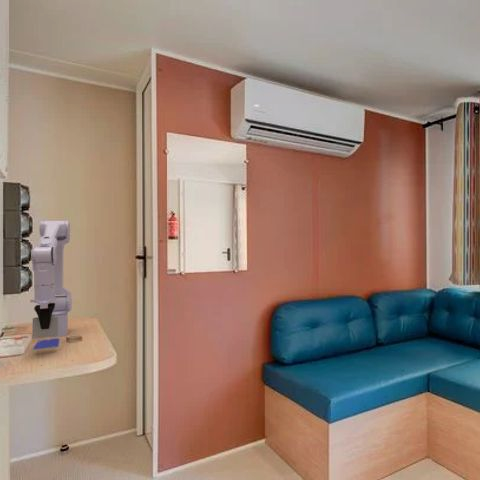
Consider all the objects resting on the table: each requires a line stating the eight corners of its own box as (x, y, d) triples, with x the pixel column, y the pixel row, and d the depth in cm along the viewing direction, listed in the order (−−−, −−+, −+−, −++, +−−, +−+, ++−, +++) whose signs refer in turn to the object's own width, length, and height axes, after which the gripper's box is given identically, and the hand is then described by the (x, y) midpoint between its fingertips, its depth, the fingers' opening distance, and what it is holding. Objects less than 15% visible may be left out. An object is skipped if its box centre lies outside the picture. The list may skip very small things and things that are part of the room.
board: (33, 336, 114) (33, 317, 114) (57, 334, 117) (57, 315, 117) (32, 338, 112) (32, 319, 112) (57, 336, 115) (57, 317, 115)
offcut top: (66, 341, 128) (66, 336, 128) (77, 338, 131) (77, 334, 131) (70, 343, 126) (70, 338, 126) (82, 340, 128) (82, 336, 128)
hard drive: (59, 346, 121) (61, 337, 133) (31, 349, 118) (36, 340, 130) (59, 351, 121) (61, 342, 133) (31, 354, 118) (36, 345, 130)
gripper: (31, 283, 120) (32, 324, 120) (28, 288, 107) (28, 334, 107) (55, 281, 123) (56, 322, 123) (55, 286, 110) (55, 331, 110)
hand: (45, 327), depth 115 cm, fingers closed on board, 2 cm apart
